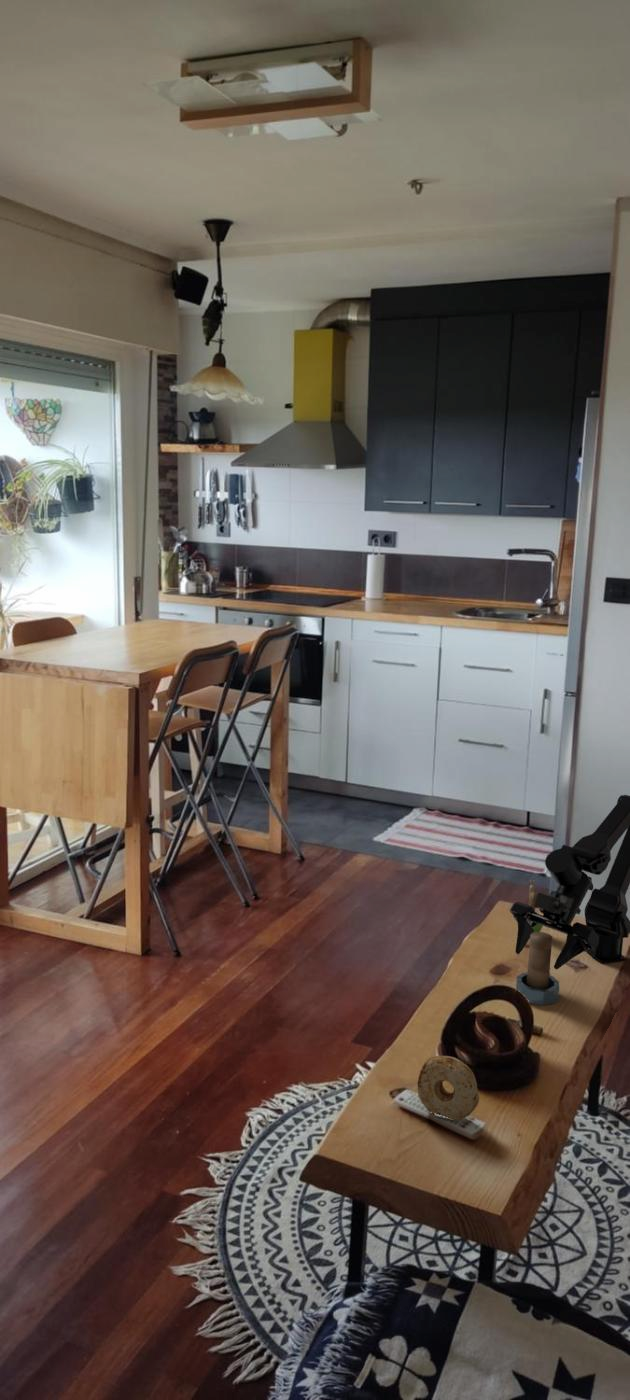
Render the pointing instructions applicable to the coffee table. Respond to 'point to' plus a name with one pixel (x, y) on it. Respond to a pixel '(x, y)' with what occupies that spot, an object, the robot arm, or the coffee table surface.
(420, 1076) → the stone disc
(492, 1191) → the coffee table surface
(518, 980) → the metal collar
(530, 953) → the walnut shaft
